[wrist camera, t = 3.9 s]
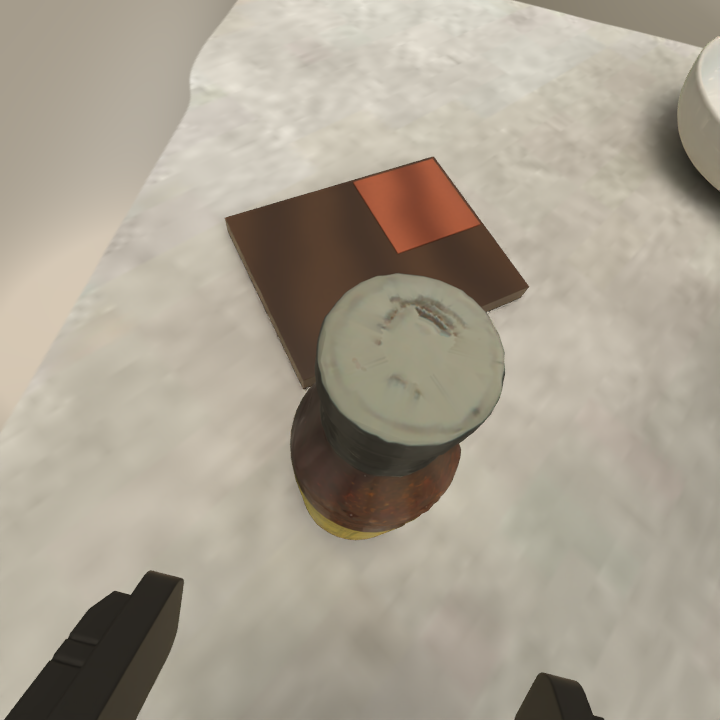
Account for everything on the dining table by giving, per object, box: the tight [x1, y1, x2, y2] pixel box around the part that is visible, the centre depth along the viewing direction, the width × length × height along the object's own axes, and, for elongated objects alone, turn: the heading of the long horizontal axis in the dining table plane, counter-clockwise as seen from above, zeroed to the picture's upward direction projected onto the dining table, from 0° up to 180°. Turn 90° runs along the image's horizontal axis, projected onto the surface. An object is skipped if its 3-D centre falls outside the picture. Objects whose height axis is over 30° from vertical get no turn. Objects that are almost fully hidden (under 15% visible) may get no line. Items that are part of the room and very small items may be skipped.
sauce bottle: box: [290, 273, 505, 540], centre depth 18 cm, size 6×6×20 cm
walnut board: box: [225, 157, 529, 389], centre depth 34 cm, size 18×14×2 cm
